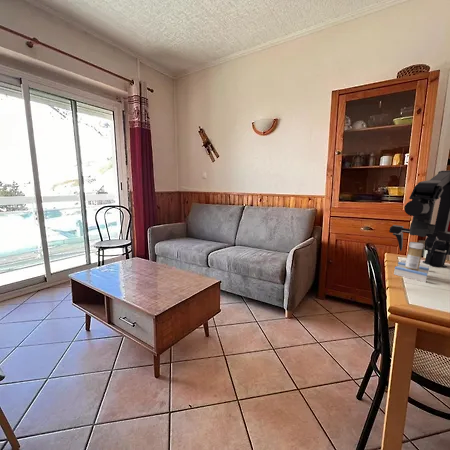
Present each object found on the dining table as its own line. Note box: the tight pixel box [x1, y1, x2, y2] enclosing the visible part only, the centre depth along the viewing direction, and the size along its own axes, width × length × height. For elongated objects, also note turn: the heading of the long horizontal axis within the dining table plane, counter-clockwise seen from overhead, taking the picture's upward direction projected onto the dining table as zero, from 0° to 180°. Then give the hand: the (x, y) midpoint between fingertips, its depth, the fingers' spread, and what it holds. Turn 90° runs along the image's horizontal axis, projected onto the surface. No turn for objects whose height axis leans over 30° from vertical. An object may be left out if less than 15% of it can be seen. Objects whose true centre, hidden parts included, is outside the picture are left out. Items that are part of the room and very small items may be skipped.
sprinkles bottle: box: [405, 241, 425, 271], centre depth 95 cm, size 5×5×14 cm
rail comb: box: [393, 258, 431, 283], centre depth 99 cm, size 19×10×3 cm, turn 137°
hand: (414, 253), depth 95 cm, fingers open, 9 cm apart
